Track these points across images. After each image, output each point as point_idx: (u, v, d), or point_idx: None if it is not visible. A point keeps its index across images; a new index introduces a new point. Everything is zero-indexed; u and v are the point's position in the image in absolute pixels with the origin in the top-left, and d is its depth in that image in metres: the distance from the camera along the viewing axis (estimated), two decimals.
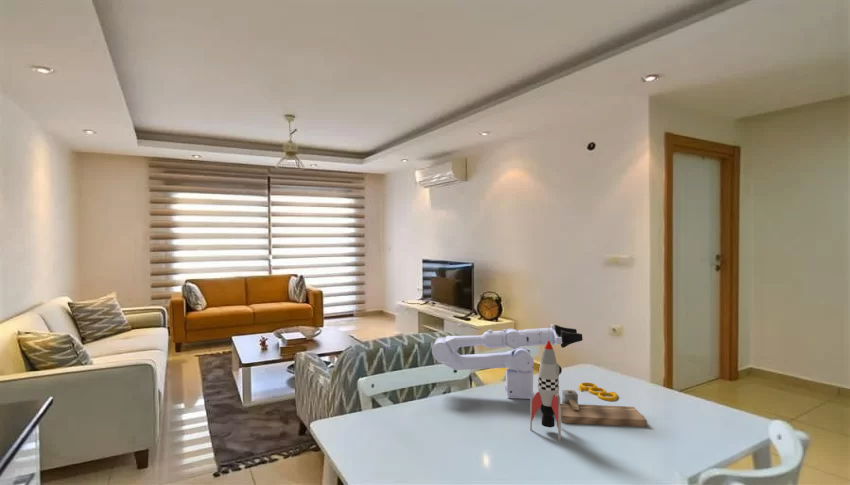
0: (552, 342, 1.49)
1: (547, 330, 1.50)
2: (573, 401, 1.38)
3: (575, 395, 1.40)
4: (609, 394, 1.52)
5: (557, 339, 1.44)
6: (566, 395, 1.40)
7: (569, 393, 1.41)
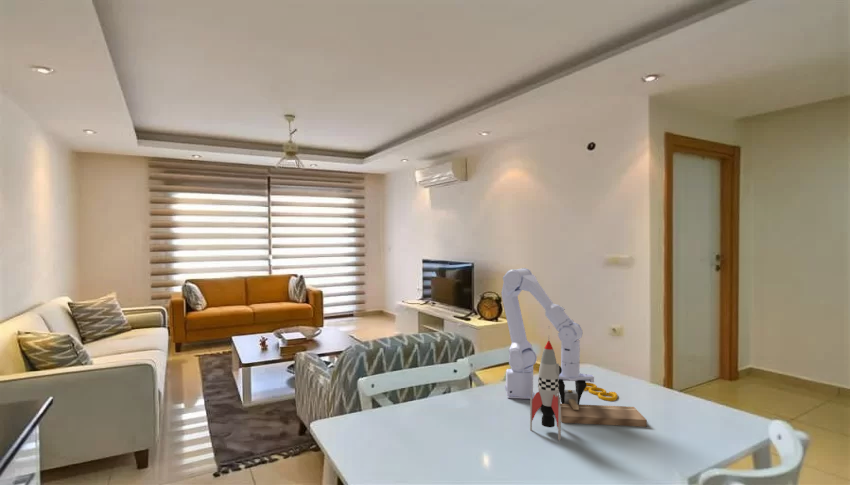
0: None
1: (567, 371, 1.40)
2: (573, 401, 1.38)
3: (575, 395, 1.40)
4: (609, 394, 1.52)
5: None
6: (566, 395, 1.40)
7: (569, 393, 1.41)
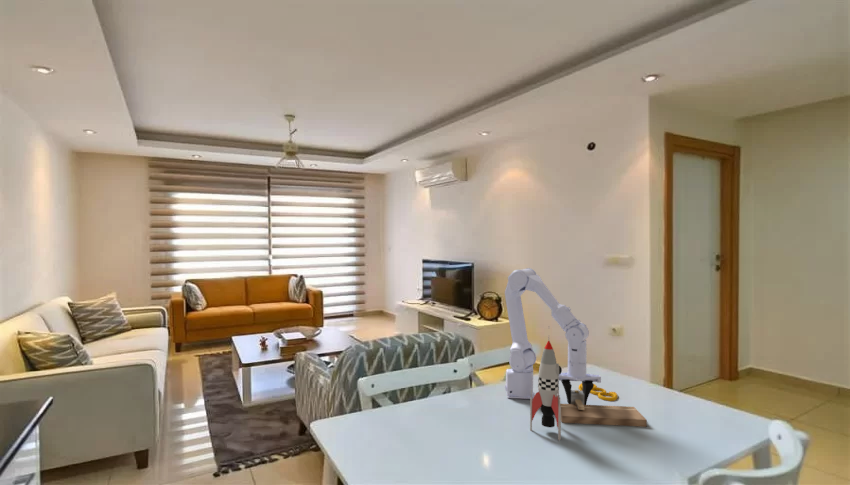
0: None
1: (573, 372, 1.39)
2: (579, 401, 1.38)
3: (581, 396, 1.39)
4: (609, 394, 1.53)
5: None
6: (572, 395, 1.40)
7: (576, 393, 1.40)
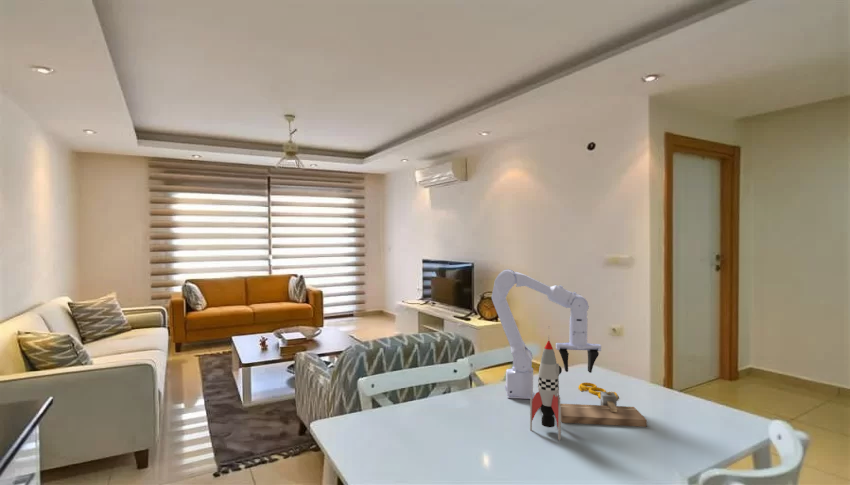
0: None
1: (575, 340, 1.46)
2: (611, 403, 1.37)
3: (613, 397, 1.38)
4: None
5: (556, 345, 1.48)
6: (604, 397, 1.39)
7: (607, 395, 1.39)
